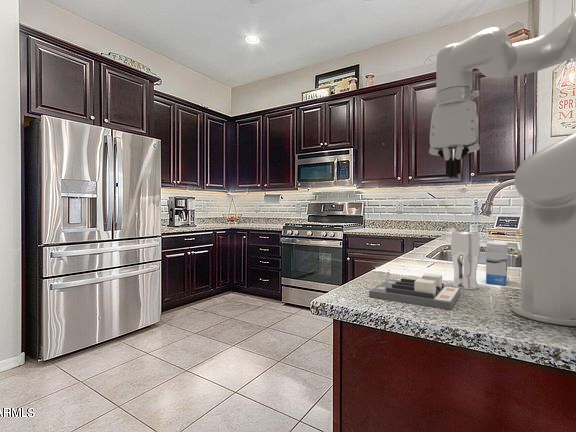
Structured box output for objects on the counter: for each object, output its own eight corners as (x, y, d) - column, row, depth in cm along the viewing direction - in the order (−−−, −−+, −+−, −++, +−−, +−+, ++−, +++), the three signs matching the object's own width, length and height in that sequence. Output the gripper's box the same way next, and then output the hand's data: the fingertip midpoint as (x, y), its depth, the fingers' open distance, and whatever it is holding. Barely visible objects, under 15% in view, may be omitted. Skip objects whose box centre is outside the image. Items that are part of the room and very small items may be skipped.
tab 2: (442, 286, 82) (442, 275, 81) (439, 289, 79) (439, 277, 79) (425, 284, 84) (425, 273, 84) (422, 287, 81) (422, 275, 81)
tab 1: (435, 293, 75) (436, 280, 75) (432, 296, 72) (432, 283, 72) (418, 291, 77) (418, 278, 77) (414, 294, 74) (414, 281, 74)
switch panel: (460, 293, 81) (460, 283, 81) (450, 309, 68) (450, 298, 68) (389, 284, 91) (389, 275, 91) (369, 297, 78) (369, 286, 78)
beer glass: (472, 284, 92) (472, 232, 91) (484, 290, 85) (484, 233, 84) (446, 283, 92) (447, 231, 92) (457, 289, 85) (457, 233, 85)
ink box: (506, 286, 89) (506, 244, 89) (485, 283, 92) (485, 242, 92) (507, 280, 96) (508, 241, 96) (488, 278, 99) (488, 240, 99)
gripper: (491, 98, 75) (491, 176, 75) (423, 110, 83) (423, 180, 84) (489, 88, 69) (489, 173, 69) (416, 102, 77) (416, 178, 77)
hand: (453, 177), depth 76 cm, fingers closed
